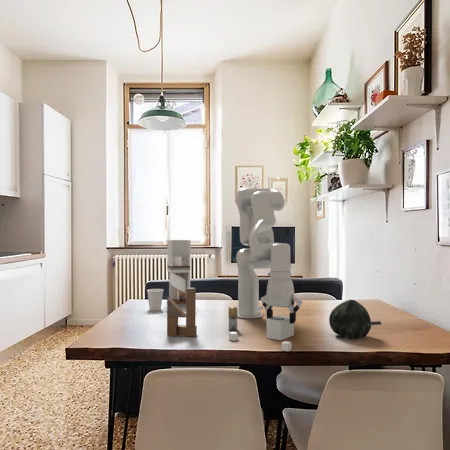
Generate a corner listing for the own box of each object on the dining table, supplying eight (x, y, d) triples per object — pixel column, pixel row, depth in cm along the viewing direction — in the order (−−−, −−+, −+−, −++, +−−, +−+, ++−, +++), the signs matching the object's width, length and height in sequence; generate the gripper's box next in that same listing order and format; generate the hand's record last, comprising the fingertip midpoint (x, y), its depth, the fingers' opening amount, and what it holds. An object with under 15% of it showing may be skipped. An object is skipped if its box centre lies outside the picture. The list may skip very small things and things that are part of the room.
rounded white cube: (232, 338, 154) (232, 331, 154) (237, 339, 153) (237, 332, 153) (228, 339, 152) (228, 332, 152) (233, 340, 151) (233, 333, 151)
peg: (232, 328, 170) (232, 306, 170) (239, 330, 168) (239, 307, 168) (226, 330, 167) (226, 307, 167) (233, 331, 165) (233, 308, 165)
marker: (285, 348, 141) (285, 341, 141) (291, 349, 139) (291, 342, 139) (281, 350, 139) (281, 342, 139) (287, 351, 137) (287, 343, 137)
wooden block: (169, 334, 161) (169, 287, 161) (196, 334, 160) (196, 287, 160) (166, 336, 157) (167, 288, 158) (194, 337, 156) (195, 288, 156)
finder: (280, 332, 163) (280, 313, 164) (293, 335, 160) (293, 315, 160) (266, 338, 155) (266, 318, 156) (280, 340, 152) (280, 320, 152)
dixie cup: (162, 311, 208) (162, 290, 208) (145, 311, 208) (145, 290, 208) (164, 308, 216) (164, 288, 217) (148, 308, 217) (148, 288, 217)
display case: (167, 303, 232) (167, 240, 233) (185, 302, 236) (186, 239, 236) (170, 306, 222) (171, 240, 222) (190, 305, 225) (190, 240, 225)
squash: (342, 315, 170) (332, 290, 162) (379, 322, 160) (371, 295, 153) (330, 344, 162) (319, 319, 154) (368, 352, 152) (359, 326, 144)
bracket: (360, 318, 194) (360, 312, 194) (381, 325, 179) (381, 318, 180) (332, 321, 189) (332, 314, 189) (352, 327, 175) (352, 321, 175)
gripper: (255, 275, 160) (256, 320, 159) (296, 277, 150) (296, 326, 149) (266, 274, 166) (266, 318, 165) (305, 276, 156) (306, 322, 155)
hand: (281, 321), depth 157 cm, fingers open, 9 cm apart
